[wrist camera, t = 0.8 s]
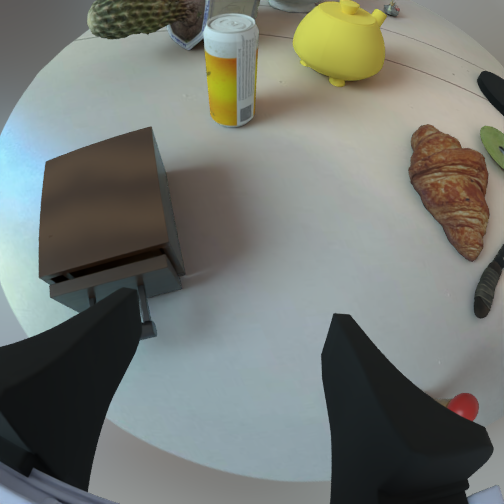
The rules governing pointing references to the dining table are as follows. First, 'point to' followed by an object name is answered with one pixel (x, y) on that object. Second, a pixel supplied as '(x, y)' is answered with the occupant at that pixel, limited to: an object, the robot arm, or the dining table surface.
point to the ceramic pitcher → (294, 5)
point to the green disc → (493, 143)
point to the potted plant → (162, 17)
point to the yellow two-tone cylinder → (231, 67)
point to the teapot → (341, 41)
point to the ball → (464, 406)
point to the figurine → (392, 9)
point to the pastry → (451, 187)
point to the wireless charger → (492, 89)
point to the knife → (488, 285)
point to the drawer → (120, 283)
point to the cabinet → (105, 206)
